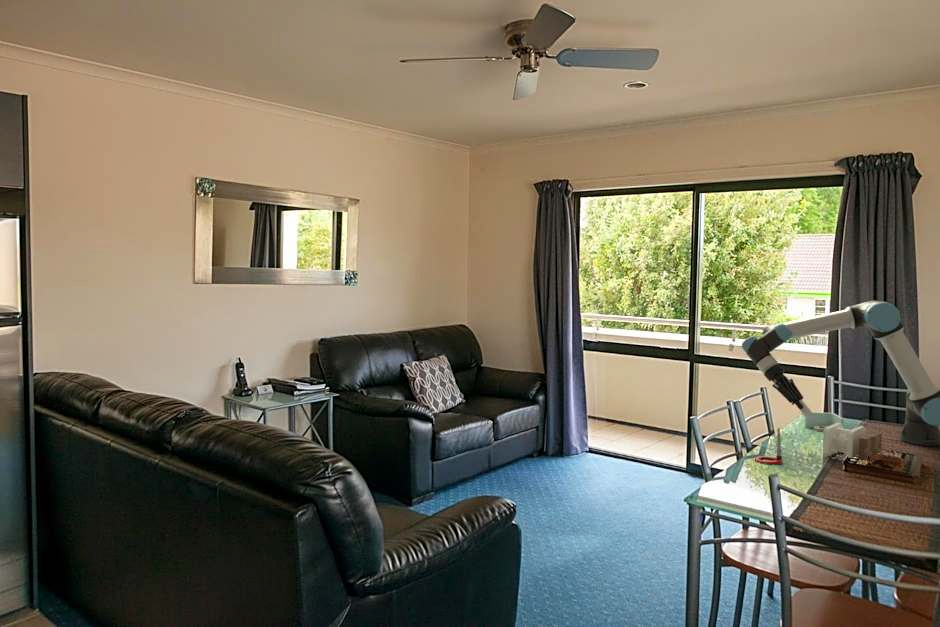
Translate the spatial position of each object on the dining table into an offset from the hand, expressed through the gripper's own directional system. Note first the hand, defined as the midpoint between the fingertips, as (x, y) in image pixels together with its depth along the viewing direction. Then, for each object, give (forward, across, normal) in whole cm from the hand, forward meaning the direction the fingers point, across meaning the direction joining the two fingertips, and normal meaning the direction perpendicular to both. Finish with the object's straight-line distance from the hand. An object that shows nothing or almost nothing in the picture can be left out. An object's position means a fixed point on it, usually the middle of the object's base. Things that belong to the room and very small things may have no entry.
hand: (809, 414), depth 274 cm
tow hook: (+10, +30, -10) cm, 33 cm away
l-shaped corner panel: (+2, -36, -18) cm, 41 cm away
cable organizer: (+20, 0, 0) cm, 20 cm away
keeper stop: (+22, 0, +3) cm, 23 cm away
